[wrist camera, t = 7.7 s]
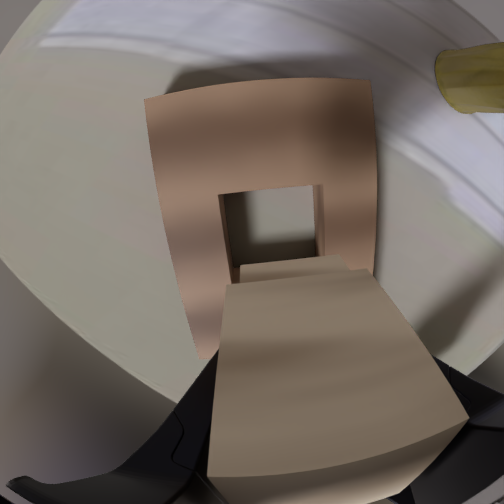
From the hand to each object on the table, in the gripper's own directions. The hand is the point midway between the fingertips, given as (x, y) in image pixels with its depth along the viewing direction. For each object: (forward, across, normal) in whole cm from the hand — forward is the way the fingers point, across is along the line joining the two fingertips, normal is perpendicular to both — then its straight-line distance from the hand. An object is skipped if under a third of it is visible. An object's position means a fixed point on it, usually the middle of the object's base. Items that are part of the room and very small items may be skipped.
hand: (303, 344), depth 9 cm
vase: (+13, -18, -12) cm, 25 cm away
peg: (+2, 0, 0) cm, 3 cm away
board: (+13, 0, 0) cm, 13 cm away
